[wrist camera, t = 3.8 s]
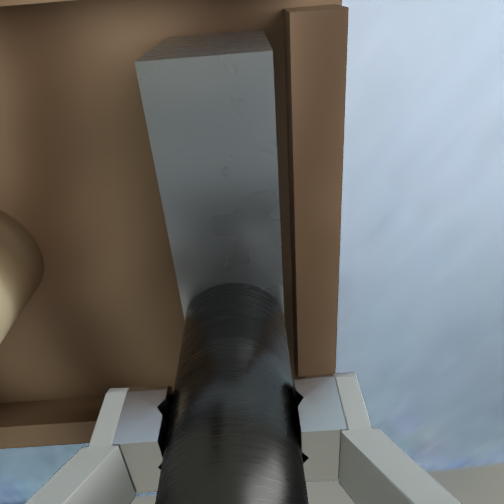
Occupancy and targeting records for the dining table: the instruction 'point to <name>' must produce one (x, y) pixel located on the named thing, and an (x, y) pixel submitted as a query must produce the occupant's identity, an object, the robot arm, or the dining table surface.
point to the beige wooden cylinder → (16, 270)
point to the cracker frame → (146, 197)
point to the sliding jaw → (224, 270)
